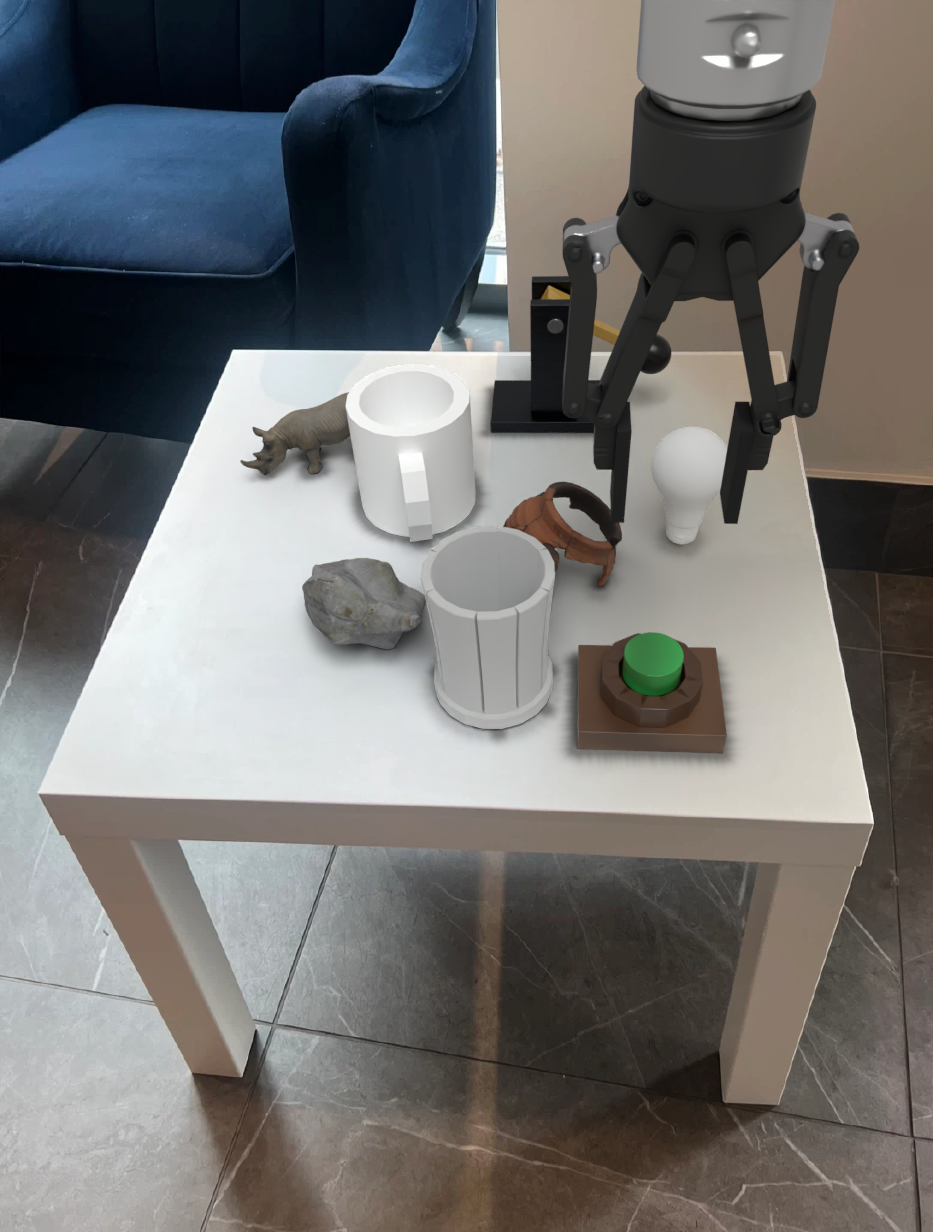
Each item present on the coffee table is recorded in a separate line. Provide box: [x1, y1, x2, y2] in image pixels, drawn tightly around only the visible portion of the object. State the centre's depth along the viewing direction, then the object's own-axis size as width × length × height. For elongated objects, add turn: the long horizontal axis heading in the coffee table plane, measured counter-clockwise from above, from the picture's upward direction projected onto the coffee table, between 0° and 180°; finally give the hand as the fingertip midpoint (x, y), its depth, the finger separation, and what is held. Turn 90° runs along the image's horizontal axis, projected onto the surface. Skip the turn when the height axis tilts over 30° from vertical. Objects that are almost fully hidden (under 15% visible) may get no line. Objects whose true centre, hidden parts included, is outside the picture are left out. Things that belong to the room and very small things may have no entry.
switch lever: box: [540, 286, 672, 375], centre depth 91 cm, size 13×4×4 cm, turn 85°
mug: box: [346, 363, 476, 543], centre depth 85 cm, size 14×10×11 cm
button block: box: [577, 632, 728, 754], centre depth 71 cm, size 10×8×4 cm
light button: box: [622, 631, 684, 696], centre depth 69 cm, size 4×4×2 cm
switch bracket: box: [490, 275, 600, 434], centre depth 93 cm, size 12×7×13 cm, turn 86°
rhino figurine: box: [239, 391, 351, 477], centre depth 92 cm, size 4×14×6 cm, turn 118°
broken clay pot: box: [502, 481, 623, 588], centre depth 80 cm, size 12×10×8 cm
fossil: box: [301, 557, 427, 650], centre depth 76 cm, size 11×9×8 cm
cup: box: [420, 525, 556, 730], centre depth 71 cm, size 10×9×12 cm
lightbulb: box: [650, 425, 728, 545], centre depth 80 cm, size 6×6×11 cm
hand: (672, 507), depth 59 cm, fingers open, 6 cm apart
